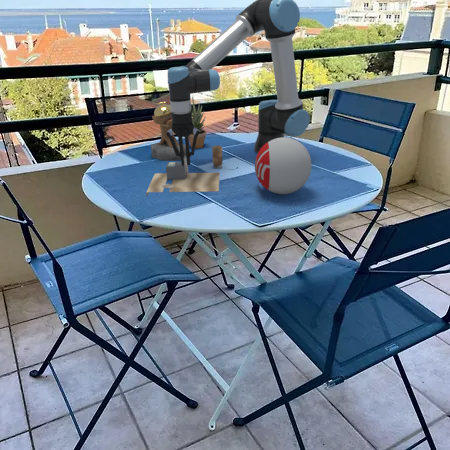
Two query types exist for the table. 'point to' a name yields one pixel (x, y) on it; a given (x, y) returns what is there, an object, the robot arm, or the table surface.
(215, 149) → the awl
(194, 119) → the potted plant
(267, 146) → the decorative sphere
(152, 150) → the figurine
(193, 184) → the board
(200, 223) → the table surface
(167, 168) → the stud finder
